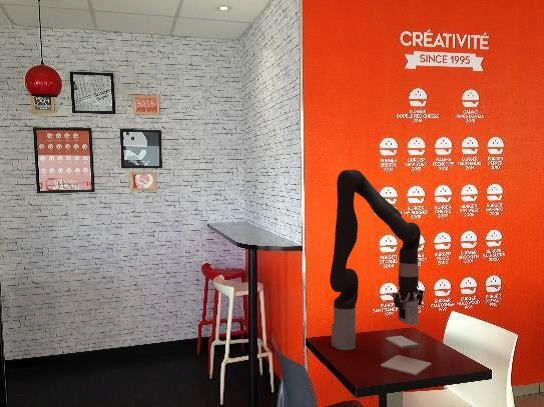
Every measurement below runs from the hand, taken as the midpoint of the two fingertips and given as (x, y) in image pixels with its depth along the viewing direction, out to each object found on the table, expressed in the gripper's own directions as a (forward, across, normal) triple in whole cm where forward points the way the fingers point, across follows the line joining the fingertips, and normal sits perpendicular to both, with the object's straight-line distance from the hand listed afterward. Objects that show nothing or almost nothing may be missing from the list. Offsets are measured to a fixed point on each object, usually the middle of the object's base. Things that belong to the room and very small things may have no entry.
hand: (408, 317), depth 194 cm
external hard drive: (+18, +12, +18) cm, 28 cm away
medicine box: (+2, 0, 0) cm, 2 cm away
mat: (+17, -4, -3) cm, 18 cm away
